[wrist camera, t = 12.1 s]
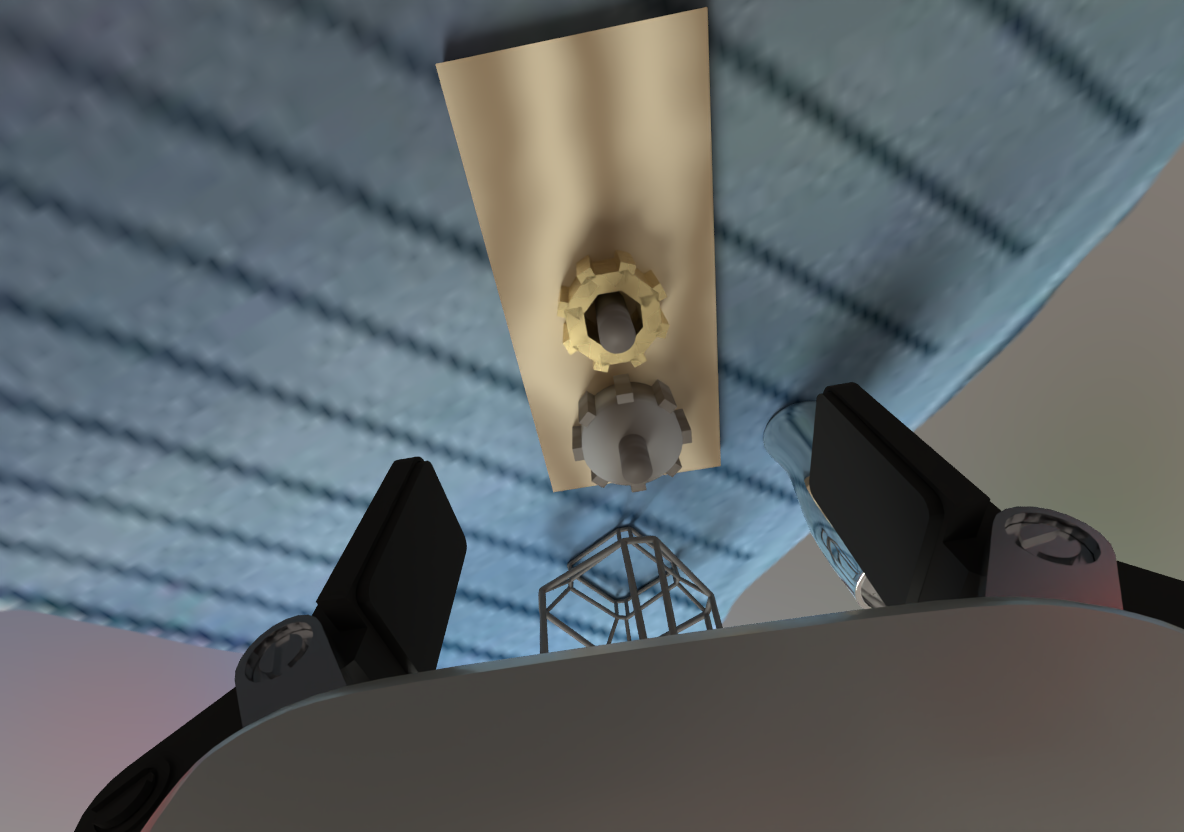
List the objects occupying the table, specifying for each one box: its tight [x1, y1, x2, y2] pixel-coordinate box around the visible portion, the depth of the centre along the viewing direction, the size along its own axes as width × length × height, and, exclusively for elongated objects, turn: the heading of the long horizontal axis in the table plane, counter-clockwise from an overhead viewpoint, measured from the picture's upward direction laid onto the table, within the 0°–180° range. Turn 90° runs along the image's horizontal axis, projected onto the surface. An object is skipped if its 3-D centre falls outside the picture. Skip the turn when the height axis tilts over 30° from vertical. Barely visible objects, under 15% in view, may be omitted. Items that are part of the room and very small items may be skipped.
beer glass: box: [763, 401, 886, 609], centre depth 31 cm, size 7×7×15 cm
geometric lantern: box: [538, 526, 723, 654], centre depth 30 cm, size 16×16×35 cm
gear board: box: [436, 7, 721, 492], centre depth 29 cm, size 14×29×8 cm, turn 10°
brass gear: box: [557, 250, 670, 372], centre depth 29 cm, size 7×7×4 cm
